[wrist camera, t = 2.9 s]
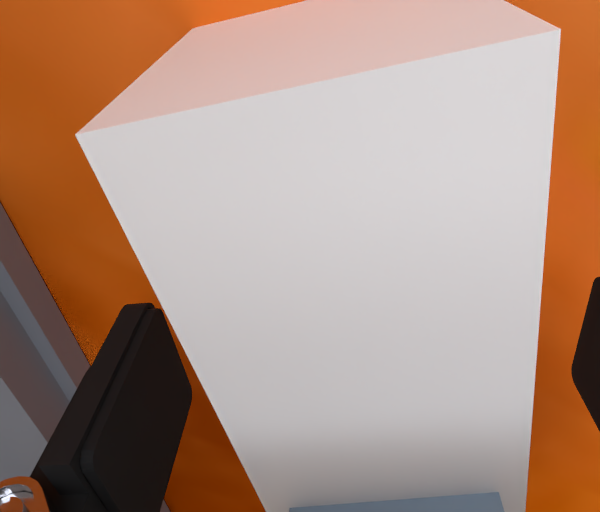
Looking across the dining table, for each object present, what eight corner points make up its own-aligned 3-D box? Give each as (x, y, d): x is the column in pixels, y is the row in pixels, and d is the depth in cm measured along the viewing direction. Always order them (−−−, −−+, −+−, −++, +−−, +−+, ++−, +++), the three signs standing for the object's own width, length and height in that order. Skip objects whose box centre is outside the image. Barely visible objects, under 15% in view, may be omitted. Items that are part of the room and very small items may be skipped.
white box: (194, 27, 10) (49, 158, 5) (437, -33, 9) (590, 44, 4) (312, 395, 17) (306, 621, 12) (460, 378, 16) (529, 614, 11)
